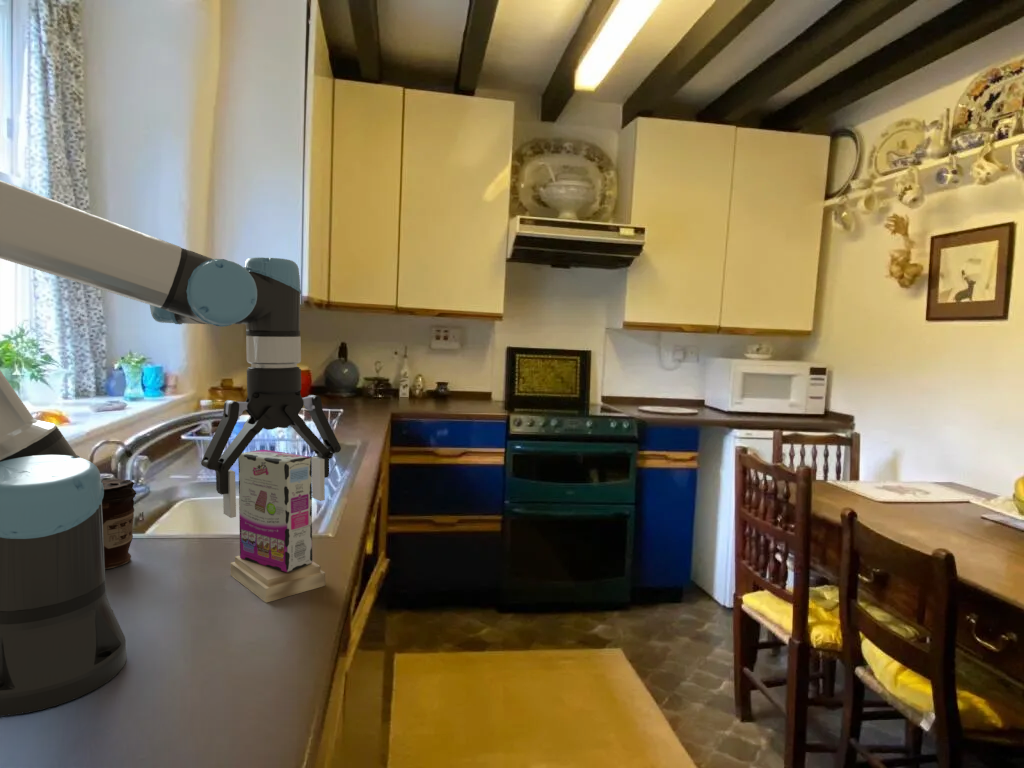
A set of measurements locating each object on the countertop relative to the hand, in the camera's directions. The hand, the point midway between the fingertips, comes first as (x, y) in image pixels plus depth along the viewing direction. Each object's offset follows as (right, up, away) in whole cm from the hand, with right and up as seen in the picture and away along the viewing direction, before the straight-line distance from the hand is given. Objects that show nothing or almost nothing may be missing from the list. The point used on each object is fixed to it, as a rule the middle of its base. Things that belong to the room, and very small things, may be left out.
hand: (276, 506), depth 97 cm
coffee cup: (-29, -11, +7) cm, 32 cm away
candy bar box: (0, -9, +1) cm, 9 cm away
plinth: (0, -11, +1) cm, 11 cm away
